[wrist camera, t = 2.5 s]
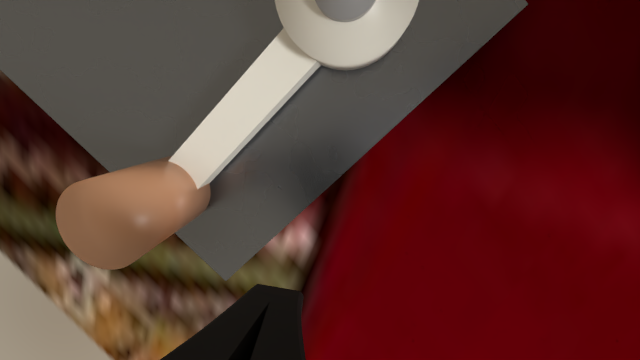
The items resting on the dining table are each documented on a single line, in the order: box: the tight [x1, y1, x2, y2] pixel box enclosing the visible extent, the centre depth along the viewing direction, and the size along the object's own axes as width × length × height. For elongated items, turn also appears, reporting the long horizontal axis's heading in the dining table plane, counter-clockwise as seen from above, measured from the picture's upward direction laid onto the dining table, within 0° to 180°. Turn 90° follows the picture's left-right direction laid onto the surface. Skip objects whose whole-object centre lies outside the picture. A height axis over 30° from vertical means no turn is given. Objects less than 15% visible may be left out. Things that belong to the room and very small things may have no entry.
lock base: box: [0, 0, 528, 281], centre depth 11 cm, size 16×16×1 cm
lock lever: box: [56, 0, 419, 270], centre depth 9 cm, size 4×12×4 cm, turn 134°
